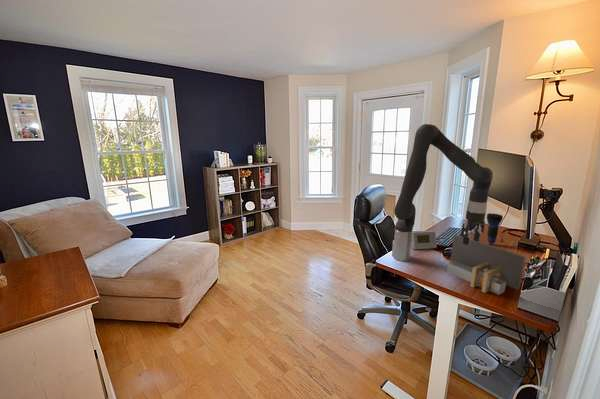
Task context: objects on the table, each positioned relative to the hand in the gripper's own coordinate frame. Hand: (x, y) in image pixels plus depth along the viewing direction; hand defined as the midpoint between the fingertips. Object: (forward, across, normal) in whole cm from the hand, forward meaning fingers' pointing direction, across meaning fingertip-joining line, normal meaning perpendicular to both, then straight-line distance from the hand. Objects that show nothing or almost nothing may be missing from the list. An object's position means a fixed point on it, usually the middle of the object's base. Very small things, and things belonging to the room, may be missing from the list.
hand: (470, 242), depth 127 cm
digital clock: (+19, -13, -34) cm, 42 cm away
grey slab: (+18, 0, +4) cm, 19 cm away
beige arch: (+18, 0, +7) cm, 19 cm away
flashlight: (+18, -55, -17) cm, 60 cm away
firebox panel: (+18, -10, +2) cm, 21 cm away
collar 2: (+18, 0, +12) cm, 22 cm away
